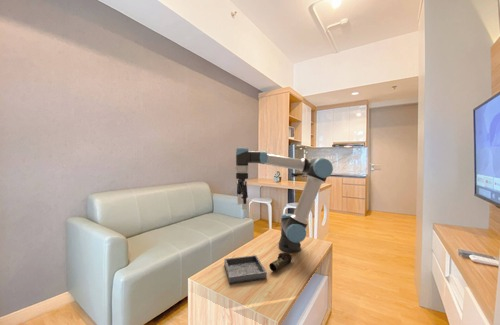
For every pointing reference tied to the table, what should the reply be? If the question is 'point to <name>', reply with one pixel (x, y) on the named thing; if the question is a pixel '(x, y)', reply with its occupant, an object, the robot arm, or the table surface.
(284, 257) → the metal pipe
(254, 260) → the grey square tray
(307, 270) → the table surface
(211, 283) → the table surface
